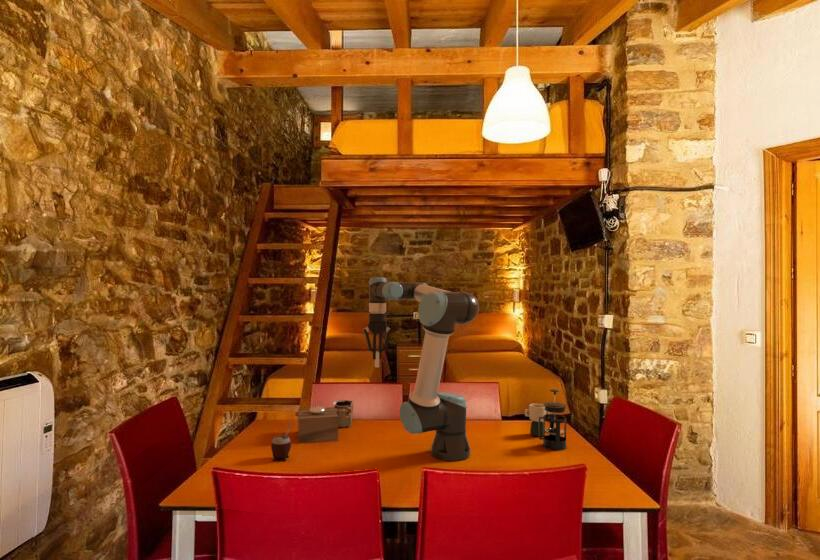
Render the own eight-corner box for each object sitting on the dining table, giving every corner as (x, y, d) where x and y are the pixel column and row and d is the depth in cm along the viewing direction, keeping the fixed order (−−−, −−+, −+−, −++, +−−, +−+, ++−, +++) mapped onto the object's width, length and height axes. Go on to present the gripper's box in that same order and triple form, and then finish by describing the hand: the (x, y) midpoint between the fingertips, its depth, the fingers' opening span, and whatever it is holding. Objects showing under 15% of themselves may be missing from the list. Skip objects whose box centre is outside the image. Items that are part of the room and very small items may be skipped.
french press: (564, 442, 200) (564, 387, 201) (571, 450, 191) (571, 392, 191) (536, 442, 201) (536, 387, 201) (541, 450, 191) (542, 392, 192)
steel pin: (325, 436, 204) (325, 409, 204) (309, 437, 202) (310, 410, 202) (324, 432, 210) (324, 405, 210) (309, 433, 208) (309, 406, 209)
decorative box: (322, 428, 218) (322, 406, 218) (331, 416, 238) (331, 396, 238) (351, 428, 217) (351, 407, 218) (357, 417, 237) (358, 397, 238)
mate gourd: (267, 459, 178) (268, 418, 179) (286, 453, 184) (287, 414, 184) (277, 464, 173) (278, 422, 173) (296, 459, 179) (297, 418, 179)
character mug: (549, 433, 213) (549, 404, 213) (551, 438, 206) (551, 408, 206) (524, 432, 215) (524, 402, 215) (525, 436, 208) (525, 406, 208)
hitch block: (337, 440, 200) (338, 416, 200) (298, 443, 196) (298, 418, 197) (334, 429, 216) (335, 407, 216) (298, 431, 212) (298, 409, 212)
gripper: (390, 312, 215) (389, 365, 215) (361, 312, 212) (360, 365, 212) (393, 313, 208) (393, 367, 207) (363, 313, 205) (363, 368, 204)
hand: (376, 366), depth 210 cm, fingers closed
